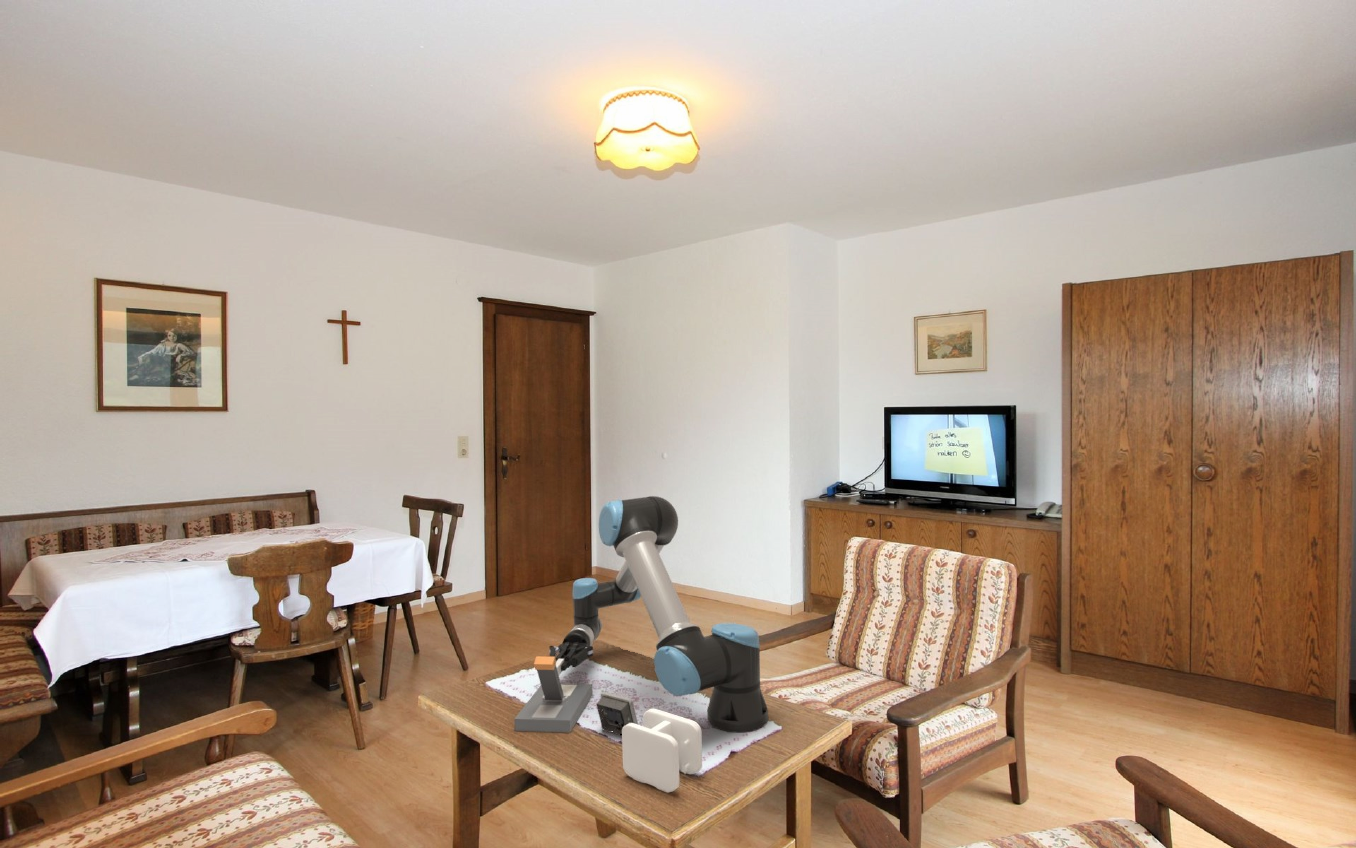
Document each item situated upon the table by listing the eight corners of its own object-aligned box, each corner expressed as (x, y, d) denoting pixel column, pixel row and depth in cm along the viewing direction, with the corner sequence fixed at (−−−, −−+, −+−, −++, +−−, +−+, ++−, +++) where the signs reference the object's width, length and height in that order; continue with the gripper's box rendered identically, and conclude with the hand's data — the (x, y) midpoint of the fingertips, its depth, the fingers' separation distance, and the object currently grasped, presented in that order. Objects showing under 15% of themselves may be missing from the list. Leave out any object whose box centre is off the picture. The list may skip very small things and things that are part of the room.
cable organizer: (619, 776, 150) (617, 722, 150) (650, 755, 158) (649, 704, 158) (675, 798, 141) (673, 741, 141) (705, 775, 149) (703, 721, 149)
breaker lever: (562, 701, 180) (552, 664, 173) (544, 701, 181) (533, 664, 173) (564, 693, 182) (554, 656, 175) (546, 693, 183) (536, 656, 175)
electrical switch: (640, 731, 170) (636, 695, 169) (627, 742, 166) (623, 705, 164) (609, 723, 175) (606, 688, 174) (596, 733, 171) (592, 697, 170)
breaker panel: (570, 732, 170) (569, 716, 170) (514, 731, 172) (514, 714, 172) (592, 694, 192) (592, 680, 192) (543, 693, 194) (542, 679, 194)
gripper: (600, 654, 204) (579, 688, 181) (556, 654, 206) (530, 687, 183) (599, 629, 204) (578, 659, 181) (556, 628, 206) (529, 658, 182)
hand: (554, 673), depth 182 cm, fingers closed
